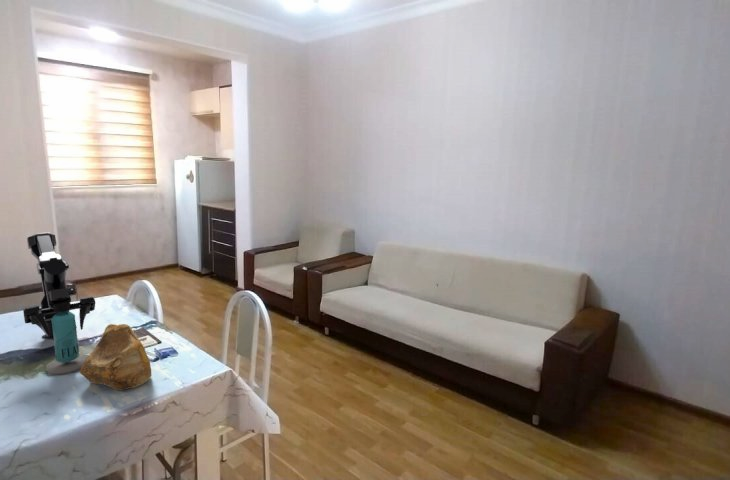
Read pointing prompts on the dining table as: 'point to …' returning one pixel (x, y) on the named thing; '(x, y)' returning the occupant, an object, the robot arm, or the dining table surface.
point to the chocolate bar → (146, 337)
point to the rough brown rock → (118, 359)
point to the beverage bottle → (64, 333)
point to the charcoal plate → (66, 366)
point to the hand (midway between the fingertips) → (65, 332)
